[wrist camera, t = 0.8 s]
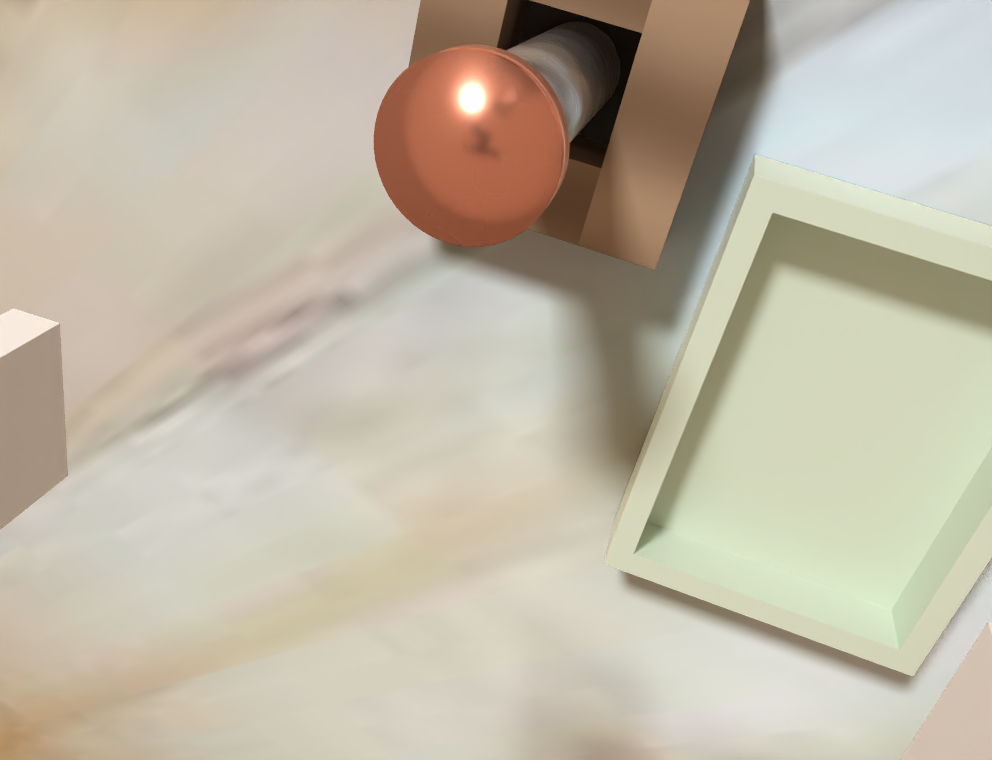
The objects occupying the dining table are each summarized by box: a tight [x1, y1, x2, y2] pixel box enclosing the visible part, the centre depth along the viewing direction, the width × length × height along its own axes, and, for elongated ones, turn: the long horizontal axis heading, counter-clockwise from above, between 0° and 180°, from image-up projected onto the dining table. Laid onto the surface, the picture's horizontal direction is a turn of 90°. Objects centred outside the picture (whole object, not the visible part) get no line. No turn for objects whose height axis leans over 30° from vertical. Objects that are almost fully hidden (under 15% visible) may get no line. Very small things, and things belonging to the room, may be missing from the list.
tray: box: [603, 154, 992, 677], centre depth 34 cm, size 17×13×3 cm
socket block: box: [409, 0, 750, 270], centre depth 31 cm, size 10×10×4 cm
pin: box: [374, 21, 620, 247], centre depth 27 cm, size 4×4×14 cm
